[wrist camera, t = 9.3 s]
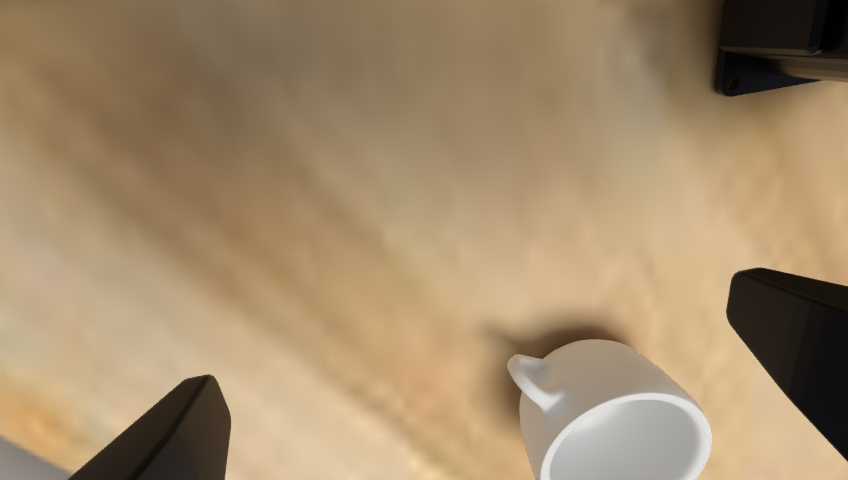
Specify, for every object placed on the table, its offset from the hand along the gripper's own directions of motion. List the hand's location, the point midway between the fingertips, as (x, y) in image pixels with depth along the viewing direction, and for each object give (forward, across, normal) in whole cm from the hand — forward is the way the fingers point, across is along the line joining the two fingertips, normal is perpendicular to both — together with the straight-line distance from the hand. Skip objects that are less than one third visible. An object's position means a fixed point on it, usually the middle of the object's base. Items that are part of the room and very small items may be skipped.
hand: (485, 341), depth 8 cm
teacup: (+12, -6, +12) cm, 18 cm away
